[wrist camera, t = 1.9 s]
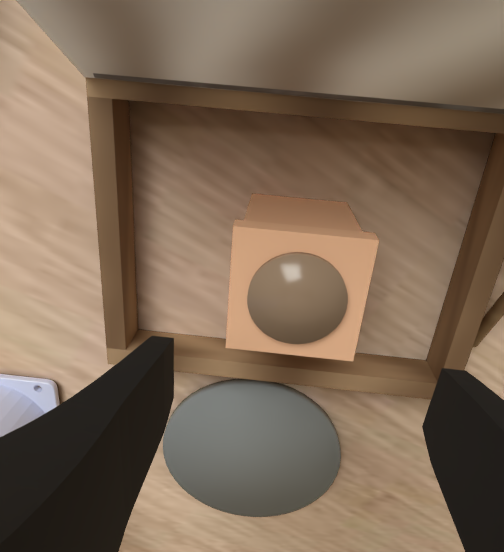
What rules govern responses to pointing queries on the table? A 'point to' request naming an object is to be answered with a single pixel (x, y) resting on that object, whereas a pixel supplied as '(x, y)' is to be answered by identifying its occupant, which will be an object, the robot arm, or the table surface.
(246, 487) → the mat
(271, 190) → the table surface
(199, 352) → the cold frame
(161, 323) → the table surface
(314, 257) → the orange block with dome
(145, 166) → the table surface
